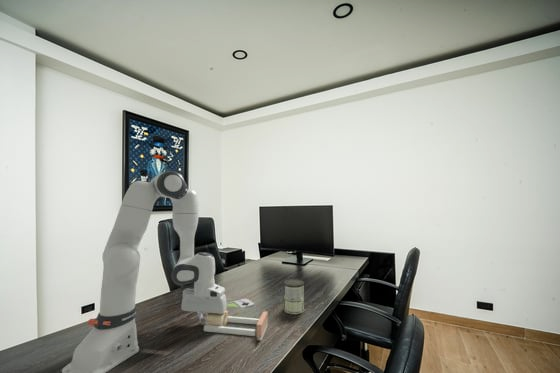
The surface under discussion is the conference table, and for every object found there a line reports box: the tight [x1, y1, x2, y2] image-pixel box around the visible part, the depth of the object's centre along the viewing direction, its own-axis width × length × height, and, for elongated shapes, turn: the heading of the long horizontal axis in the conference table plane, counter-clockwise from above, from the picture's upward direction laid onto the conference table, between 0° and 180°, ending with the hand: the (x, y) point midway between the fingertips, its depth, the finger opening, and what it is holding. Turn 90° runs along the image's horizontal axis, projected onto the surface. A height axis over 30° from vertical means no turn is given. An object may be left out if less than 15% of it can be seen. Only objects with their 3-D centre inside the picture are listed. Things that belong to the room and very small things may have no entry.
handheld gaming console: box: [227, 298, 255, 309], centre depth 127 cm, size 10×2×15 cm
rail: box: [201, 310, 269, 341], centre depth 103 cm, size 12×26×6 cm, turn 81°
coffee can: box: [283, 278, 305, 315], centre depth 123 cm, size 10×10×14 cm
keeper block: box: [205, 310, 229, 327], centre depth 104 cm, size 7×7×5 cm
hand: (203, 321), depth 105 cm, fingers closed
